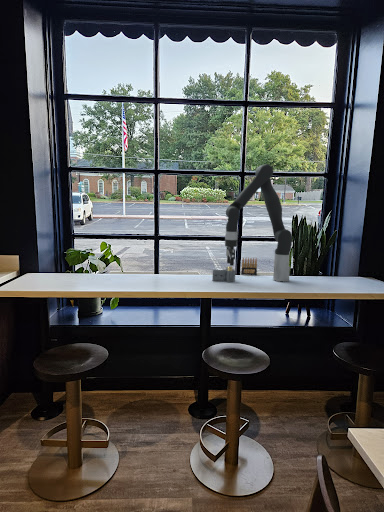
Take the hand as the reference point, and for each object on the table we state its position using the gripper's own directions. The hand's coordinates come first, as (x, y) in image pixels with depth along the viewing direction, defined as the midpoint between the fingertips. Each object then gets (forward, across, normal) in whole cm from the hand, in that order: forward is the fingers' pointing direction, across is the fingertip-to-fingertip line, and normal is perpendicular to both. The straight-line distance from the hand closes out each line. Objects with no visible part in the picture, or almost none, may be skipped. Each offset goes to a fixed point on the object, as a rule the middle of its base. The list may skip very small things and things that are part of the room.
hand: (230, 264), depth 220 cm
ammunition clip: (+11, +19, -18) cm, 28 cm away
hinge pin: (+11, 0, 0) cm, 11 cm away
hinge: (+11, +4, +4) cm, 12 cm away
